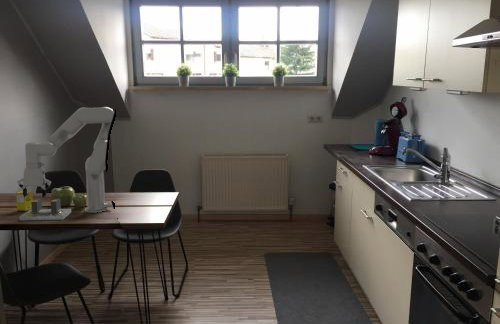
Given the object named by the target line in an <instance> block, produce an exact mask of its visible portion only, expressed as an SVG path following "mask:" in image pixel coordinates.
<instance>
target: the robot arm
mask: <svg viewBox="0 0 500 324" xmlns="http://www.w3.org/2000/svg"><path fill="white" fill-rule="evenodd" d="M114 116H115V110H113V108H110V107H108V106H102V107H79V108H78V109H76V111H75V112H74V113H73V114H71V115H70V117H68V118H67V120H65V121H64V122H63V123H62V124H61V125H59V127H58V128H57V129H56V131H54V132H53V133H52V134H51V135H50V136H49V137H48V138H47V139H46V140H44V141H43V142H41V143H40V142H37V141H36V142H35V141H34V142H33V141H29V142H26V143H25V167H24V171H23V178H21V179H20V180H17V181H16V183H17V185H18V186H19V188H20V189H21V191H23V195H24V197H26V196H27V191H28V187H40V188H41V196H42V198H45V197H46V196H47V189H48V188H49V187H50V186H51V184H52V181H51V180H49V179H47V178H46V174H45V169H44V167H45V163H43V162H42V157H53V156H55V154H56V153H57V150H58V149H59V148H60V147H61V146H62V145H63V144H64V143H66V142H67V141H68V140H70V139H72V138H73V137H74V136H75V135H77V133H79V131H81V130H82V129H83V128H84V127H85V126H86V125H87V124H101V128H100V130H99V133H98V135H97V138H96V139H95V141H94V143H93V151H92V153H91V155H90V156H89V157H88V158H86V161H85V163H84V164H85V165H84V166H85V167H84V169H85V177H86V178H85V179H86V198H87V199H86V202H87V203H86V205H87V207H85V208H84V212H85V213H92V214H96V213H97V212H98V213H103V212H102V211H104V212H106V211H108V210H109V208H114V204H113V203H112V202H111V203H107V200H106V198H105V175H104V171H106V169H107V165H106V159H107V149H108V139H109V133H110V129H111V126H112V123H113V120H114ZM22 182H23V183H22ZM107 209H108V210H107ZM98 213H97V214H98Z"/></svg>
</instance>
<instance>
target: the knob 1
mask: <svg viewBox="0 0 500 324" xmlns="http://www.w3.org/2000/svg"><path fill="white" fill-rule="evenodd" d="M31 205H32V213H40V211H42V210H41V209H43V200H42V198H35V199H33V201H32V202H31Z"/></svg>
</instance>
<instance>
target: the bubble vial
mask: <svg viewBox="0 0 500 324" xmlns="http://www.w3.org/2000/svg"><path fill="white" fill-rule="evenodd" d="M50 214H51V213H50V212H49V211H40V213H39V215H50Z"/></svg>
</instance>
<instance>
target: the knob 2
mask: <svg viewBox="0 0 500 324" xmlns="http://www.w3.org/2000/svg"><path fill="white" fill-rule="evenodd" d="M61 205H62V203H61V198H54V199H53V200H51V201H50V209H51V212H52V213H58V212H61V209H62V206H61Z"/></svg>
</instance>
